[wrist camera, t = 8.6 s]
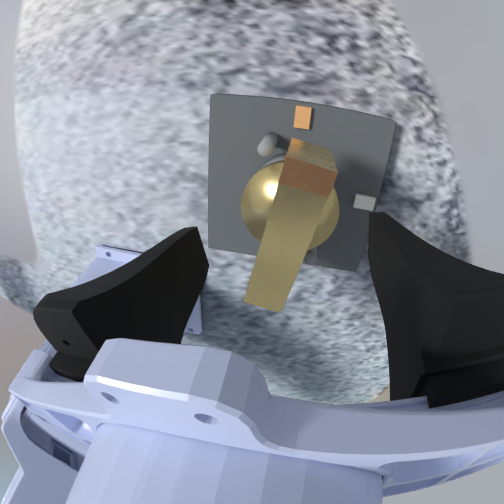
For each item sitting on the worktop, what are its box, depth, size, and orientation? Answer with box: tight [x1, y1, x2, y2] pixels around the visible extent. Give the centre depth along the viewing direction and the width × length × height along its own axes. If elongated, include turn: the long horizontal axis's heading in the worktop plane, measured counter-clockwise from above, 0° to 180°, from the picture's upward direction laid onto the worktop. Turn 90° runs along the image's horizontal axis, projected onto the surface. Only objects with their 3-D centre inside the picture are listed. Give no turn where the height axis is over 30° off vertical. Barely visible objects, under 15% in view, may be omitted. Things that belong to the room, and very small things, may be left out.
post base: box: [208, 94, 396, 272], centre depth 16 cm, size 10×10×3 cm
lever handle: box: [241, 138, 339, 313], centre depth 13 cm, size 7×5×4 cm
